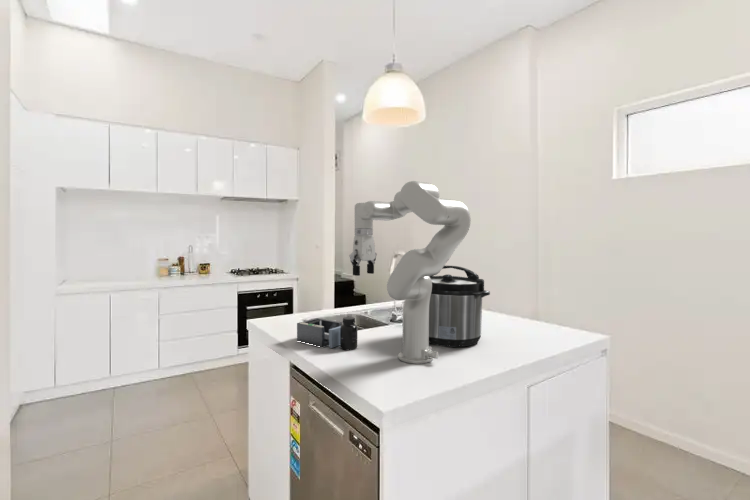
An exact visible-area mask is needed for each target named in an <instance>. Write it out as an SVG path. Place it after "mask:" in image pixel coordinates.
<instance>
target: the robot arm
mask: <svg viewBox="0 0 750 500" xmlns="http://www.w3.org/2000/svg"><path fill="white" fill-rule="evenodd" d="M410 213H414V214H415V215H416V216H417V217H419V218H420V219H421V220H422V221H423V222H425V223H427V224H430V225H435V226H437V225H438V226H443V227H442V228H441V229H440V230H439V231H437V232H436V233H435V234H434V236H432V238H431V240H430V241H429V242H428V244H427V245H426V247H424V248H415V249H410V250H408V251H407V252H405V253H404V254H403V255H402V256H401V258H400V259H399V261H398V263H397V264H396V265H395V267H394V269H393V271H392V273H391V274H390V276H389V278H388V279H387V282H386V283H387V284H386V292H387V294H388V295H389V297H391V299H393V300H395V301H404V303H403V306H402V342H401V343H402V345H401V346H402V350H401V352H399V353H398V354H397V359H398V360H399V361H401V362H403V363H408V364H415V365H416V364H419V365H420V364H427V363H431V362H432V361H433V360H434V359H435V360H436V359H437V360H438V358H439V351H435V350H432V346H430V342H429V304H430V297H431V292H432V281H431V278H430V277H429V276H438V274H439V273H441V271H442V270H443V269H442V268H443V267H444V266H446V264H447V262H448V261H449V260H450V258H451V257H452V256H453V255H454V253H455V251H456V249H457V248H458V247H459V246H460V244H461V243H462V242H463V240H464V239H465V237H467V234H468V232H469V231H470V227H471V222H472V221H471V220H472V219H471V213H470V210H469V208H468V207H467V205H466V204H464V203H463V202H462V201H459V200H456V199H451V198H450V199H448V198H440V191H439V189H438V187H437V186H436V185H434V184H432V183H430V182H424V181H416V180H411V181H408V182H405V183H404V185H403V186H402V187H401V189H400V190H399V191H398V192H396V193H395V195H394V197H393V200H392V201H378V200H377V201H376V200H369V201H364V202H357V203H355V204H354V237H353V243H352V252H351V253H350V254H349V255H348V256H349V257H348V258H349V260H350V263H351V265H352V275H353V276H356V277H357V276H361V266H360V264H361V262H367V264H366V273H367V274H373V275H374V274H375V264H376V262H375V261H376V258H377V255H378V253H377V252H376V245H375V236H374V235H373V233H374V232H373V231H374V229H373V228H374V225H373V223H374V221H394V220H397V219H400V218H404V217H405V216H406V215H407V214H410Z"/></svg>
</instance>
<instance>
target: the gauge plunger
mask: <svg viewBox="0 0 750 500" xmlns="http://www.w3.org/2000/svg"><path fill="white" fill-rule="evenodd" d="M315 322H319V325H320V326H321V320H317V321H313V322H309V323H308V324H312V323H315ZM340 327H341V326H339V327H336V328H332V329H329V333H325V339H328V340H329V346H328V348H331V349H333V348H335V347H338V346H339V347H340Z"/></svg>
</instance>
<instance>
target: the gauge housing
mask: <svg viewBox="0 0 750 500" xmlns="http://www.w3.org/2000/svg"><path fill="white" fill-rule="evenodd" d="M317 320H321V326H320V325H319V322H315V323H312V324H308V323H309V322H313V321H317ZM342 324H343V321H338V320H337V321H336V320H331V319H323V318H320V317H316V318H311V319H307V320H304V321H303V320H302V321H299V322H297V323H296V342H297V341H301V342H305V343H309V344H313V345H316V346H320V347H323V348H325V347H324V346H326V347H328V346H327V345H329V340H328V339H325V333H329V329H332V328H336V327H339V326H341V325H342ZM316 346H315V347H316ZM320 347H319V348H320Z"/></svg>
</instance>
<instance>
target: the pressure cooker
mask: <svg viewBox="0 0 750 500" xmlns="http://www.w3.org/2000/svg"><path fill="white" fill-rule="evenodd" d="M443 269H454V270H459V271H463V272H464V273H465V274H466V277H465V276H459V275H452V274H444V275H434V276H429V277H430V278H431V281H432V292H431V297H430V304H429V344H432V345H435V346H437V345H438V346H441V347H451V348H452V347H453V348H454V347H469V346H472V345H473V346H474V345H475V344H477V343H478V342H479V341H480V339H481V338H482V337H481V336H482V321H483V320H482V317H483V315H482V313H483V298H485V297H487V296H490V295H491V291H489V290H485V279H483V278H480V277H479V274H477V273H476V272H475V271H473V270H470V269H468V268H465V267H462V266H457V265H444V267H443V268H442V270H443Z"/></svg>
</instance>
